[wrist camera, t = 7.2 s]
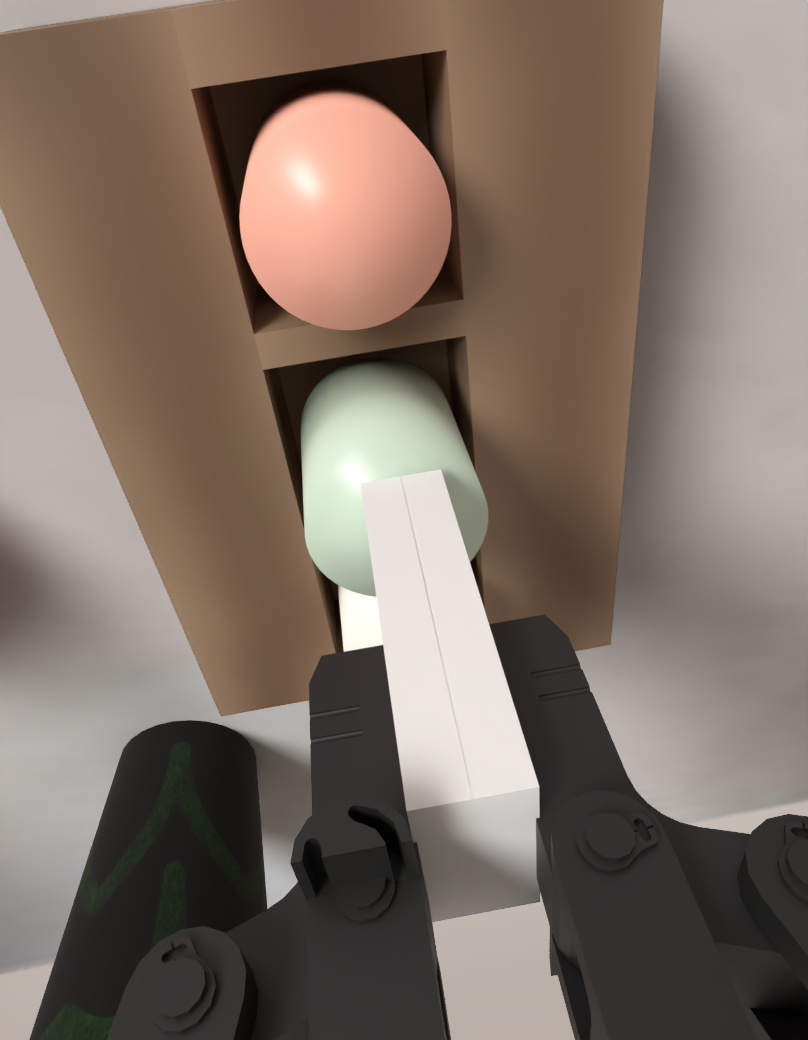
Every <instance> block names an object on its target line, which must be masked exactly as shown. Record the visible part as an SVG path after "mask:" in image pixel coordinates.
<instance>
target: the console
mask: <svg viewBox="0 0 808 1040" xmlns="http://www.w3.org/2000/svg"><path fill="white" fill-rule="evenodd" d="M663 1H664V0H213V1H206V2H199V3H192V4H186V5H179V6H172V7H165V8H159V9H152V10H145V11H138V12H132V13H125V14H118V15H111V16H105V17H98V18H91V19H84V20H78V21H71V22H64V23H58V24H51V25H44V26H37V27H31V28H24V29H18V30H12V31H7V32H2V33H0V207H1V209H2V211H3V214H4V216H5V218H6V221H7V223H8V225H9V228H10V230H11V232H12V234H13V237H14V239H15V241H16V244H17V246H18V248H19V251H20V253H21V255H22V258H23V260H24V262H25V265H26V267H27V269H28V271H29V274H30V276H31V278H32V281H33V283H34V285H35V288H36V290H37V292H38V295H39V297H40V299H41V302H42V304H43V306H44V308H45V311H46V313H47V315H48V318H49V320H50V322H51V325H52V327H53V329H54V332H55V334H56V336H57V338H58V341H59V343H60V345H61V348H62V350H63V352H64V355H65V357H66V359H67V362H68V364H69V366H70V369H71V371H72V373H73V375H74V378H75V380H76V382H77V385H78V387H79V389H80V392H81V394H82V396H83V399H84V401H85V403H86V406H87V408H88V410H89V412H90V415H91V417H92V419H93V422H94V424H95V426H96V429H97V431H98V433H99V436H100V438H101V440H102V442H103V445H104V447H105V449H106V452H107V454H108V456H109V459H110V461H111V463H112V466H113V468H114V470H115V473H116V475H117V477H118V479H119V482H120V484H121V486H122V489H123V491H124V493H125V496H126V498H127V500H128V503H129V505H130V507H131V510H132V512H133V514H134V516H135V519H136V521H137V523H138V526H139V528H140V530H141V533H142V535H143V537H144V540H145V542H146V544H147V547H148V549H149V551H150V553H151V556H152V558H153V560H154V563H155V565H156V567H157V570H158V572H159V574H160V577H161V579H162V581H163V583H164V586H165V588H166V590H167V593H168V595H169V597H170V600H171V602H172V604H173V607H174V609H175V611H176V614H177V616H178V618H179V620H180V623H181V625H182V627H183V630H184V632H185V634H186V637H187V639H188V641H189V644H190V646H191V648H192V651H193V653H194V655H195V657H196V660H197V662H198V664H199V667H200V669H201V671H202V674H203V676H204V678H205V681H206V683H207V685H208V687H209V690H210V692H211V694H212V697H213V699H214V701H215V704H216V706H217V708H218V711H219V713H220V715H221V716H226V715H231V714H237V713H242V712H247V711H253V710H258V709H264V708H269V707H275V706H280V705H285V704H291V703H296V702H302V701H307V700H309V683H310V680H311V678H312V676H313V674H314V671H315V669H316V667H317V665H318V662H319V660H320V658H321V656H323V655H328V654H334V653H340V652H344V649H343V638H342V627H341V616H340V605H339V595H338V584H336V583H334V582H333V581H332V580H330V579H329V578H328V577H326V576H325V575H324V574H323V573H322V572H321V571H320V570H319V568H318V567H317V566H316V564H315V563H314V561H313V560H312V558H311V556H310V554H309V551H308V548H307V545H306V540H305V530H304V506H303V481H302V457H301V432H300V423H301V416H302V412H303V408H304V405H305V403H306V401H307V399H308V397H309V395H310V394H311V392H312V391H313V389H314V388H315V387H316V386H317V384H318V383H319V382H320V381H321V380H322V379H323V378H324V377H326V376H327V375H328V374H329V373H331V372H332V371H334V370H335V369H337V368H339V367H341V366H343V365H345V364H347V363H350V362H353V361H356V360H360V359H365V358H373V357H387V358H394V359H399V360H402V361H406V362H408V363H411V364H413V365H415V366H417V367H419V368H420V369H422V370H424V371H425V372H426V373H427V374H429V375H430V376H431V377H432V378H433V379H434V380H435V381H436V382H437V383H438V385H439V386H440V388H441V389H442V390H443V392H444V394H445V396H446V398H447V401H448V403H449V406H450V409H451V411H452V414H453V416H454V419H455V421H456V424H457V426H458V429H459V431H460V434H461V437H462V439H463V442H464V444H465V447H466V449H467V452H468V454H469V457H470V459H471V462H472V464H473V467H474V470H475V472H476V475H477V477H478V480H479V482H480V485H481V487H482V490H483V492H484V495H485V498H486V502H487V506H488V526H487V532H486V535H485V538H484V540H483V543H482V545H481V547H480V549H479V550H478V552H477V553H476V555H475V556H474V558H473V559H472V560H471V561H470V565H471V568H472V571H473V574H474V577H475V581H476V584H477V587H478V590H479V594H480V597H481V600H482V603H483V607H484V610H485V613H486V616H487V619H488V623H489V624H493V623H499V622H505V621H510V620H516V619H522V618H527V617H533V616H539V615H544V614H545V615H546V616H547V617H548V618H549V619H550V620H551V621H552V622H553V623H555V624H556V625H557V626H558V627H559V628H560V629H561V630H562V631H563V632H564V633H565V634H566V635H567V636H568V637H569V640H570V642H571V644H572V647H573V649H574V651H578V650H583V649H589V648H594V647H599V646H605V645H610V644H611V632H612V620H613V607H614V595H615V583H616V571H617V559H618V547H619V535H620V522H621V510H622V498H623V486H624V474H625V462H626V450H627V438H628V425H629V413H630V401H631V389H632V377H633V365H634V353H635V340H636V328H637V316H638V304H639V292H640V280H641V268H642V256H643V243H644V231H645V219H646V207H647V195H648V183H649V171H650V158H651V146H652V134H653V122H654V110H655V98H656V86H657V74H658V61H659V49H660V37H661V25H662V13H663ZM328 80H333V81H343V82H348V83H352V84H355V85H358V86H360V87H363V88H365V89H367V90H369V91H371V92H372V93H374V94H376V95H377V96H378V97H380V98H381V99H382V100H383V101H385V102H386V103H387V104H388V105H389V106H390V107H391V108H392V109H393V110H394V111H395V113H396V114H397V115H398V116H399V117H400V118H401V120H402V121H403V122H404V123H405V124H406V125H407V127H408V128H409V129H410V130H411V131H412V132H413V134H414V135H415V136H416V137H417V138H418V139H419V140H420V142H421V143H422V144H423V145H424V146H425V148H426V149H427V150H428V152H429V153H430V154H431V156H432V157H433V159H434V160H435V162H436V164H437V166H438V167H439V169H440V171H441V174H442V176H443V179H444V181H445V184H446V187H447V191H448V195H449V199H450V206H451V226H452V227H451V236H450V242H449V247H448V251H447V255H446V257H445V260H444V263H443V266H442V268H441V270H440V272H439V274H438V276H437V278H436V279H435V281H434V282H433V284H432V285H431V287H430V288H429V290H428V291H427V292H426V293H425V294H424V295H423V297H422V298H421V299H420V300H419V301H418V302H417V303H416V304H414V305H413V306H412V307H411V308H410V309H408V310H407V311H406V312H404V313H403V314H401V315H400V316H398V317H396V318H394V319H392V320H390V321H388V322H386V323H383V324H380V325H378V326H374V327H370V328H366V329H359V330H335V329H328V328H323V327H320V326H316V325H313V324H310V323H308V322H306V321H303V320H301V319H299V318H297V317H296V316H294V315H292V314H291V313H289V312H288V311H286V310H285V309H284V308H282V307H281V306H280V305H279V304H277V303H276V302H275V301H274V300H273V299H272V298H271V297H270V296H269V295H268V293H267V292H266V291H265V290H264V288H263V287H262V286H261V285H260V283H259V281H258V280H257V278H256V277H255V275H254V273H253V271H252V269H251V267H250V265H249V263H248V260H247V258H246V254H245V251H244V248H243V244H242V239H241V233H240V218H239V216H240V202H241V197H242V191H243V186H244V181H245V175H246V170H247V165H248V160H249V154H250V150H251V145H252V141H253V138H254V135H255V133H256V130H257V128H258V126H259V124H260V122H261V120H262V119H263V118H264V116H265V115H266V113H267V112H268V110H269V109H270V108H271V107H272V106H273V105H274V104H275V103H276V102H277V101H278V100H279V99H281V98H282V97H283V96H284V95H285V94H287V93H289V92H290V91H292V90H294V89H296V88H298V87H300V86H303V85H305V84H309V83H313V82H317V81H328Z"/></svg>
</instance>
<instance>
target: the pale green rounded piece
mask: <svg viewBox="0 0 808 1040" xmlns="http://www.w3.org/2000/svg"><path fill="white" fill-rule="evenodd" d="M300 432H301V457H302V481H303V506H304V530H305V540H306V545H307V548H308V551H309V554H310V556H311V558H312V560H313V561H314V563H315V564H316V566H317V567H318V568H319V570H320V571H321V572H322V573H323V574H324V575H325V576H326V577H328V578H329V579H330V580H332V581H333V582H334V583H336V584H338V585H339V586H341V587H343V588H345V589H348V590H350V591H352V592H355V593H359V594H362V595H367V596H373V597H376V591H375V584H374V577H373V569H372V562H371V555H370V548H369V541H368V534H367V527H366V520H365V513H364V506H363V499H362V491H361V484H360V483H363V482H369V481H375V480H381V479H387V478H393V477H399V476H405V475H410V474H416V473H422V472H428V471H434V470H440V469H441V471H442V474H443V477H444V481H445V484H446V487H447V490H448V494H449V497H450V500H451V503H452V506H453V510H454V513H455V516H456V519H457V523H458V526H459V529H460V532H461V536H462V539H463V542H464V545H465V548H466V552H467V555H468V558H469V561H471V560H472V559H473V558H474V556H475V555H476V553H477V552H478V550H479V549H480V547H481V545H482V543H483V540H484V538H485V535H486V532H487V526H488V506H487V502H486V498H485V495H484V492H483V490H482V487H481V485H480V482H479V480H478V477H477V475H476V472H475V470H474V467H473V464H472V462H471V459H470V457H469V454H468V452H467V449H466V447H465V444H464V442H463V439H462V437H461V434H460V431H459V429H458V426H457V424H456V421H455V419H454V416H453V414H452V411H451V409H450V406H449V403H448V401H447V398H446V396H445V394H444V392H443V390H442V389H441V388H440V386H439V385H438V383H437V382H436V381H435V380H434V379H433V378H432V377H431V376H430V375H429V374H427V373H426V372H425V371H424V370H422V369H420V368H419V367H417V366H415V365H413V364H411V363H408V362H406V361H402V360H399V359H394V358H387V357H373V358H365V359H360V360H356V361H353V362H350V363H347V364H345V365H343V366H341V367H339V368H337V369H335V370H334V371H332V372H331V373H329V374H328V375H327V376H326V377H324V378H323V379H322V380H321V381H320V382H319V383H318V384H317V386H316V387H315V388H314V389H313V391H312V392H311V394H310V395H309V397H308V399H307V401H306V403H305V405H304V408H303V412H302V416H301V423H300Z"/></svg>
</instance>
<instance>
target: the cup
mask: <svg viewBox="0 0 808 1040" xmlns="http://www.w3.org/2000/svg"><path fill="white" fill-rule="evenodd" d="M266 910H267V899H266V886H265V872H264V859H263V845H262V832H261V819H260V805H259V792H258V778H257V765H256V756H255V753H254V750H253V748H252V746H251V745H250V744H249V742H248V741H247V740H246V739H245V738H244V737H242V736H241V735H240V734H238V733H237V732H235V731H233V730H231V729H229V728H226V727H224V726H221V725H217V724H213V723H209V722H200V721H177V722H170V723H165V724H161V725H157V726H154V727H152V728H150V729H147V730H145V731H142V732H141V733H140V734H138V735H137V736H135V737H134V738H132V739H131V740H130V741H129V743H128V744H127V745H126V746H125V747H124V749H123V752H122V754H121V757H120V760H119V763H118V766H117V770H116V773H115V776H114V779H113V782H112V785H111V788H110V791H109V794H108V798H107V801H106V804H105V807H104V810H103V813H102V816H101V819H100V822H99V825H98V829H97V832H96V835H95V838H94V841H93V844H92V847H91V850H90V853H89V857H88V860H87V863H86V866H85V869H84V872H83V875H82V878H81V881H80V885H79V888H78V891H77V894H76V897H75V900H74V903H73V906H72V909H71V912H70V916H69V919H68V922H67V925H66V928H65V931H64V934H63V937H62V940H61V944H60V947H59V950H58V953H57V956H56V959H55V962H54V965H53V968H52V972H51V975H50V978H49V981H48V984H47V987H46V990H45V993H44V996H43V999H42V1003H41V1006H40V1009H39V1012H38V1015H37V1018H36V1021H35V1024H34V1027H33V1031H32V1034H31V1037H30V1040H107V1037H108V1034H109V1032H110V1029H111V1026H112V1024H113V1021H114V1018H115V1015H116V1013H117V1010H118V1007H119V1004H120V1002H121V999H122V996H123V993H124V991H125V988H126V986H127V984H128V982H129V980H130V979H131V977H132V975H133V973H134V971H135V969H136V967H137V965H138V964H139V962H140V961H141V960H142V959H143V958H144V957H145V956H146V955H147V954H148V953H149V952H150V951H151V950H152V948H153V947H154V946H155V945H156V944H157V943H158V942H160V941H161V940H163V939H165V938H167V937H169V936H170V935H172V934H174V933H176V932H178V931H180V930H181V929H188V928H195V927H202V926H206V927H209V928H212V929H215V930H218V931H222V932H225V933H226V932H228V931H230V930H231V929H233V928H235V927H237V926H239V925H240V924H242V923H244V922H246V921H248V920H249V919H251V918H253V917H255V916H257V915H258V914H260V913H262V912H264V911H266Z"/></svg>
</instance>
